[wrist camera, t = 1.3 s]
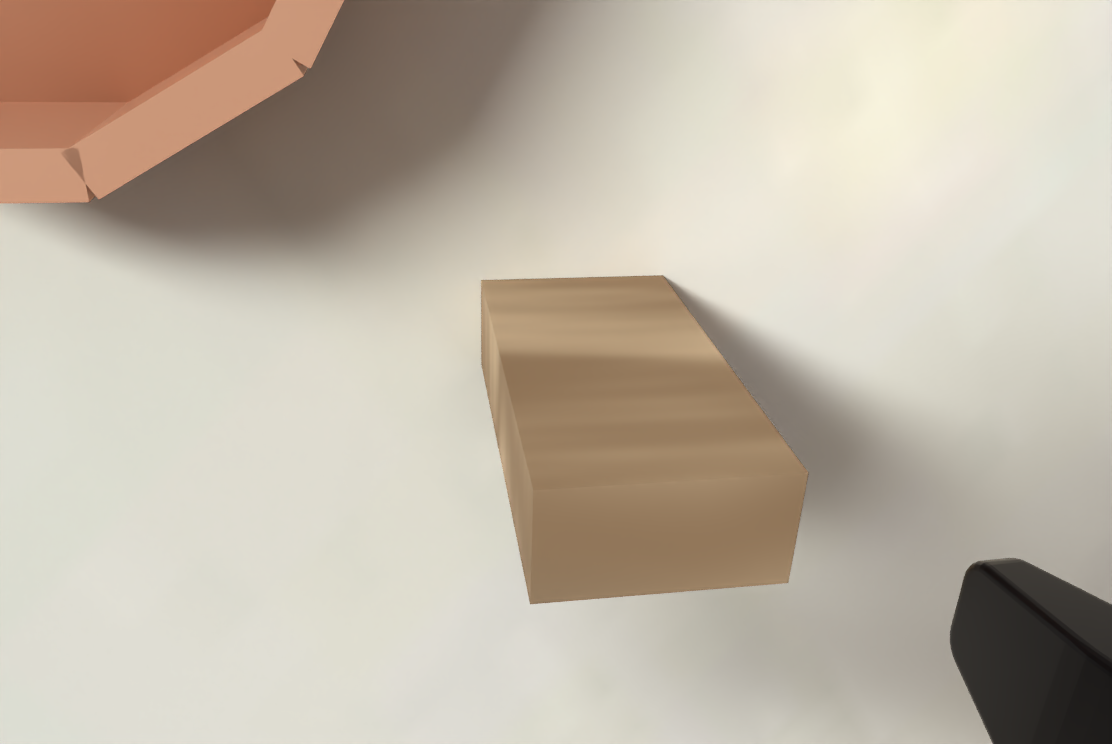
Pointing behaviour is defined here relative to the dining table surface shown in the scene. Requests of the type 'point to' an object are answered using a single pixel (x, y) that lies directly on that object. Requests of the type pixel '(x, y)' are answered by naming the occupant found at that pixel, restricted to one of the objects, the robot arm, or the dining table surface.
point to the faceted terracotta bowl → (135, 83)
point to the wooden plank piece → (631, 444)
